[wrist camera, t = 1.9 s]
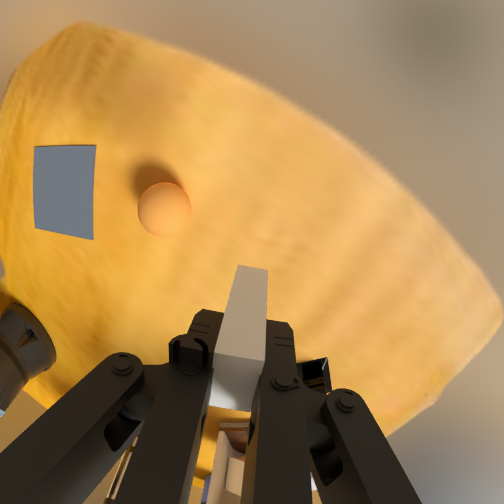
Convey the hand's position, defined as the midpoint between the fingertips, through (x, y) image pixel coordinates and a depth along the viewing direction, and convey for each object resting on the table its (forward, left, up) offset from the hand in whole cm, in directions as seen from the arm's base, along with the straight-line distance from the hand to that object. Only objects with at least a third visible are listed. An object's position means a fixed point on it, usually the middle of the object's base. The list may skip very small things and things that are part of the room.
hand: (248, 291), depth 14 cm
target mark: (-27, 0, -16) cm, 31 cm away
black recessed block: (+12, -22, -17) cm, 30 cm away
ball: (-10, 0, -13) cm, 16 cm away
